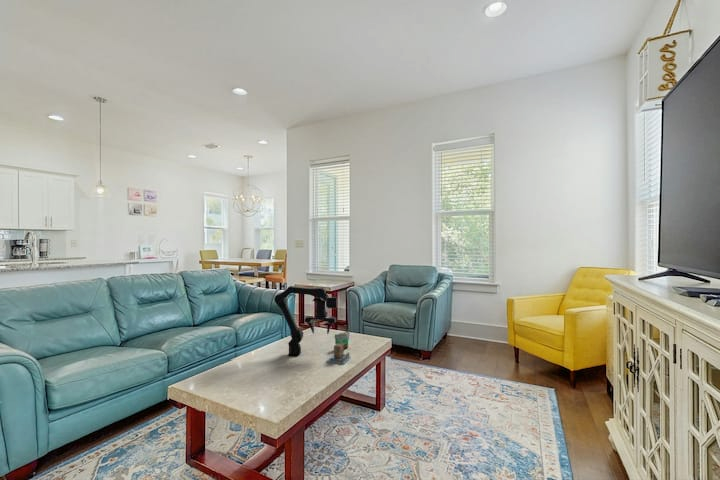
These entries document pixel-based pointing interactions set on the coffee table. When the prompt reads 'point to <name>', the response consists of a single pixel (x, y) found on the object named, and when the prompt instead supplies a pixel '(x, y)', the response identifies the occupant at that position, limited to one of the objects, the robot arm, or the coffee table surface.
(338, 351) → the walnut block
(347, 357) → the cradle
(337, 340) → the food container
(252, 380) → the coffee table surface
